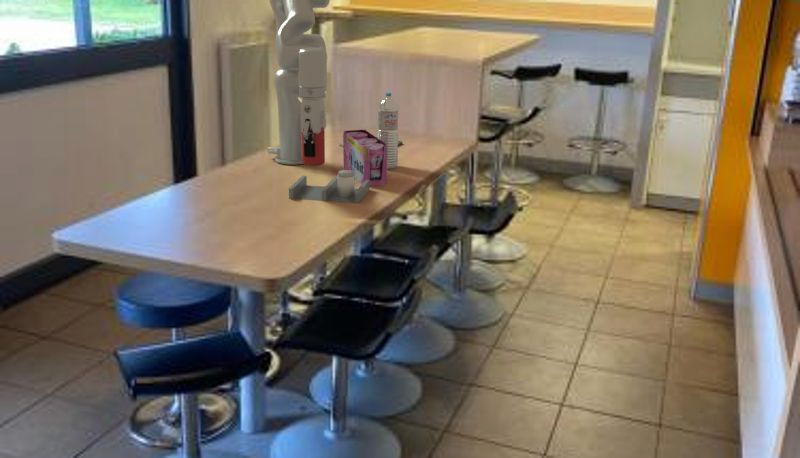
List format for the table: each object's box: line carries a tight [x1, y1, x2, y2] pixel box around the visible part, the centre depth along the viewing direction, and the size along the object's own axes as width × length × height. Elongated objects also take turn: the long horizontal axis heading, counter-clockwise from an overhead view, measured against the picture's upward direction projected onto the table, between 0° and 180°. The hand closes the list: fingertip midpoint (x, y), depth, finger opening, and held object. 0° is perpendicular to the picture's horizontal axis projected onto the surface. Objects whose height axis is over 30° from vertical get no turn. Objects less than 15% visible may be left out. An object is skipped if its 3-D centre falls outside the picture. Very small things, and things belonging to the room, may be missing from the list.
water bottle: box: [377, 92, 400, 170], centre depth 269 cm, size 7×7×25 cm
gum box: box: [342, 129, 388, 186], centre depth 257 cm, size 24×8×14 cm, turn 20°
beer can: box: [302, 126, 326, 167], centre depth 235 cm, size 7×7×12 cm
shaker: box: [336, 169, 356, 198], centre depth 237 cm, size 5×5×7 cm
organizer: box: [288, 175, 370, 204], centre depth 239 cm, size 21×14×4 cm
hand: (313, 153), depth 236 cm, fingers closed on beer can, 6 cm apart
